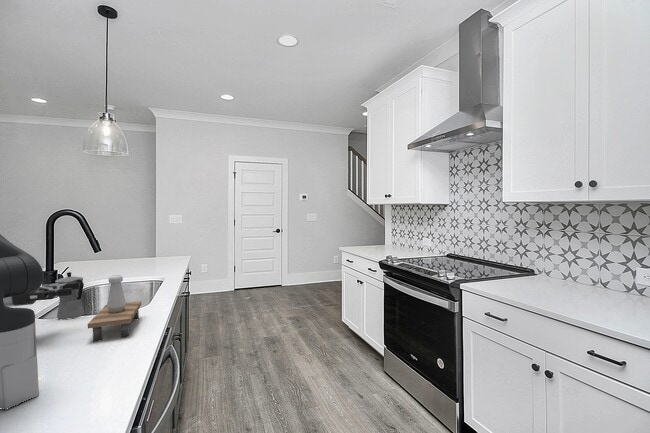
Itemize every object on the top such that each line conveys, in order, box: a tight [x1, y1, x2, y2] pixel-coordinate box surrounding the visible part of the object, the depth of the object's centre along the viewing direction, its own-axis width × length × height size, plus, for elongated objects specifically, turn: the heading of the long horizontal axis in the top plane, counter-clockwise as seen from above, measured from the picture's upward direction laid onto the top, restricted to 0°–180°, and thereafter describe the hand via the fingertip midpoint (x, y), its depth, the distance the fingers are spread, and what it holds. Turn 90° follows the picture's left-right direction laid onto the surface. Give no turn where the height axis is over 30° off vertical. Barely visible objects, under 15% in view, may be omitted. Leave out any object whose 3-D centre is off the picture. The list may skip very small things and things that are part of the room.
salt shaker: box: [106, 274, 126, 313], centre depth 118 cm, size 6×6×13 cm
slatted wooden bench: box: [87, 300, 142, 343], centre depth 119 cm, size 22×12×6 cm, turn 21°
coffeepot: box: [55, 271, 85, 321], centre depth 133 cm, size 15×9×18 cm, turn 66°
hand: (76, 288), depth 113 cm, fingers open, 8 cm apart
